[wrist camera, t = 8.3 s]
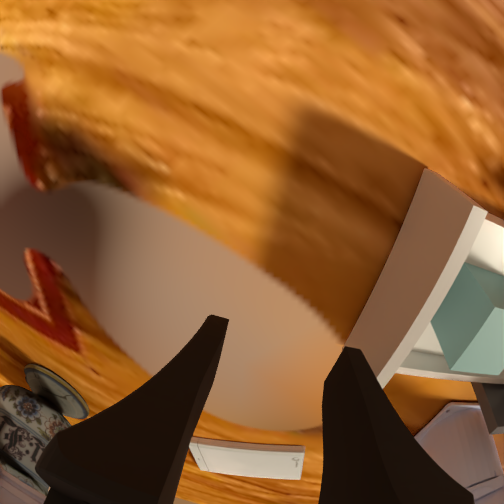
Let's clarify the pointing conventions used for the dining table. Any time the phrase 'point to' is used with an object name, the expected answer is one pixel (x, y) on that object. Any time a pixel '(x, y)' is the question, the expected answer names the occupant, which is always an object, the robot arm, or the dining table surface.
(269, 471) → the hard drive
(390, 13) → the dining table surface
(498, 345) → the teal block
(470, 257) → the tray
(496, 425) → the housing
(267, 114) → the dining table surface
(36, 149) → the dining table surface
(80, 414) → the apothecary jar
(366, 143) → the dining table surface
